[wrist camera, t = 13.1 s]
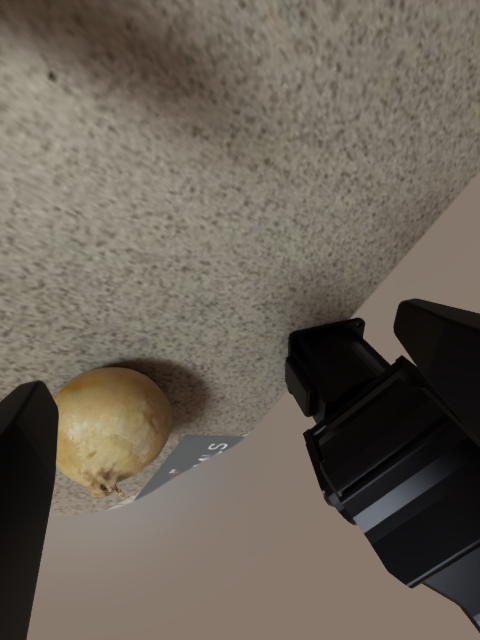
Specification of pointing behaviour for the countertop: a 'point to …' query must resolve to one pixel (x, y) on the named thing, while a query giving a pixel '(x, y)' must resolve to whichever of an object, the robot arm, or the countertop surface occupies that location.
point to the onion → (110, 427)
